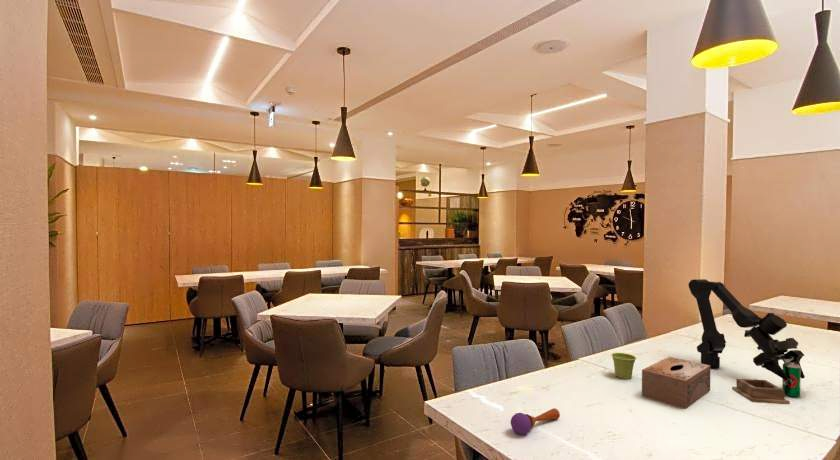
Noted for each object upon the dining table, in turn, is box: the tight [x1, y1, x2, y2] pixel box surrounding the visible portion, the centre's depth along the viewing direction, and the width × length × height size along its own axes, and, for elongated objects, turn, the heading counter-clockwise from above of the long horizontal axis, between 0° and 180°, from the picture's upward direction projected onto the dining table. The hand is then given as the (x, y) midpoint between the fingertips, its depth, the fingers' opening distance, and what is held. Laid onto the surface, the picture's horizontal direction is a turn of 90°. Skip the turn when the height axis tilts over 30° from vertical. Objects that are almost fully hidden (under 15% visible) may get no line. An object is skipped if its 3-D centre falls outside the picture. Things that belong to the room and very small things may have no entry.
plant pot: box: [611, 352, 637, 380], centre depth 174 cm, size 9×9×9 cm
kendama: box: [510, 407, 561, 436], centre depth 130 cm, size 6×6×20 cm
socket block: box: [731, 378, 791, 405], centre depth 154 cm, size 12×12×4 cm
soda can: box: [781, 361, 802, 398], centre depth 155 cm, size 5×5×12 cm
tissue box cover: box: [641, 356, 711, 410], centre depth 156 cm, size 26×14×10 cm, turn 129°
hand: (795, 378), depth 154 cm, fingers open, 8 cm apart
